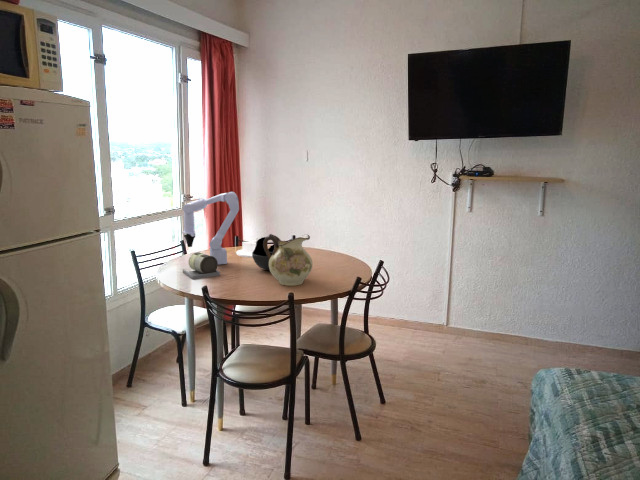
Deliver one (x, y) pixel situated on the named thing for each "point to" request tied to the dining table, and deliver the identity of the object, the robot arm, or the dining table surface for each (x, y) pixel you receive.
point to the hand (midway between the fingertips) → (189, 246)
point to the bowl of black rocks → (262, 254)
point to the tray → (200, 274)
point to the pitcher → (288, 260)
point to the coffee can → (203, 263)
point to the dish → (247, 249)
